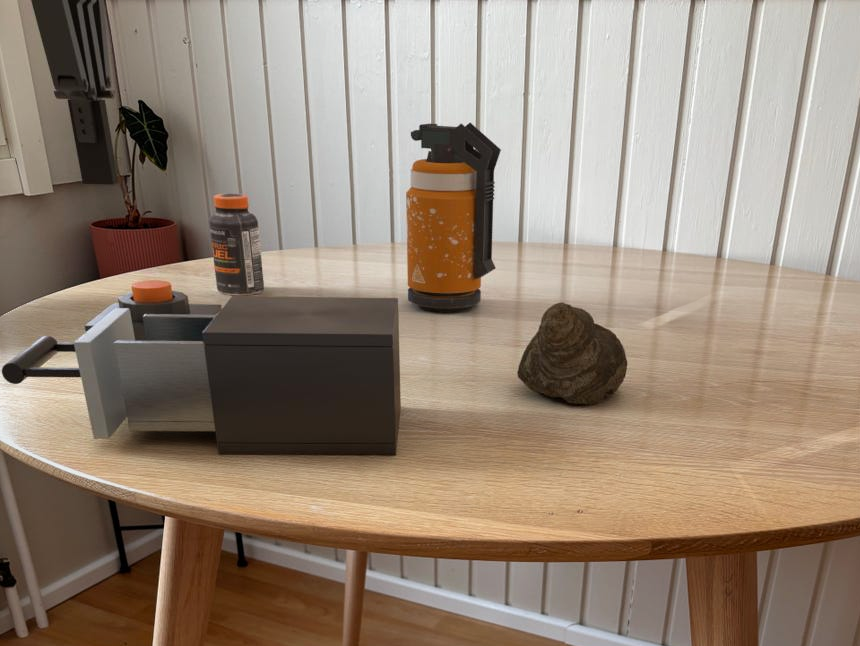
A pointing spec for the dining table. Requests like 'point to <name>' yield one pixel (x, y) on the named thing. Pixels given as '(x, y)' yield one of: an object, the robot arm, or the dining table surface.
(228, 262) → the pill bottle
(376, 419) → the drawer cabinet
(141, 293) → the button
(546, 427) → the dining table surface
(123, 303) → the control block
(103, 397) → the dispenser drawer
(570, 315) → the seashell
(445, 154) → the canister
